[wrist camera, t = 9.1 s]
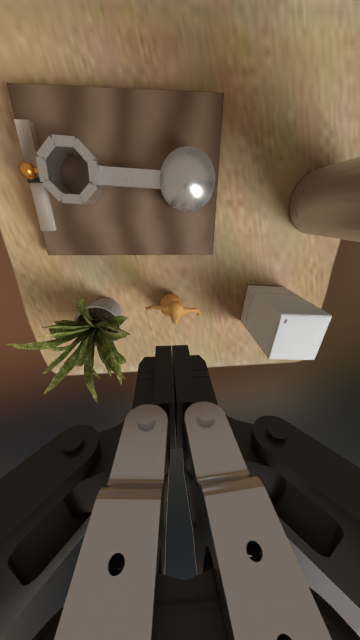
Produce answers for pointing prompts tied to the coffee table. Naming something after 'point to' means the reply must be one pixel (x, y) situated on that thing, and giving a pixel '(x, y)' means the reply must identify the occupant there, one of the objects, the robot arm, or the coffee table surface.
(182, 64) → the coffee table surface
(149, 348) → the coffee table surface
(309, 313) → the supplement box
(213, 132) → the stand base
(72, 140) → the baby rattle
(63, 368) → the house plant
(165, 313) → the figurine
